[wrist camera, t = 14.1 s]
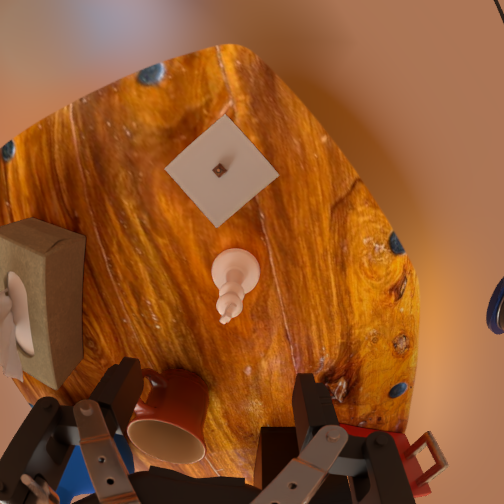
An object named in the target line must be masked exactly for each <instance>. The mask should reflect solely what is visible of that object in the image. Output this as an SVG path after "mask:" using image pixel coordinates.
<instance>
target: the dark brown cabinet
mask: <svg viewBox="0 0 504 504" xmlns="http://www.w3.org/2000/svg"><path fill="white" fill-rule="evenodd" d="M298 456H299V448H298V441H297V434H296V427H261V431H260V437H259V444H258V450H257V457H256V463H255V469H254V486H255V487H257V488H259V489H261V490H264V489H265V488H266V487H267V486H268V485H269V484H270V483H271V482H272V481H273V480H274V479H275V478H276V477H277V475H278V474H279V473H280V472H281V471H282V470H283V469H284V468H285V467H286V466H287V464H288V463H289V462H290V461H291V460H292V459H293V458H297V457H298ZM308 504H353V502H352V496H351V491H350V487H349V483H348V479H347V476H344V475H337V474H330V473H329V475H328V476H327V478H326V479H325V481H324V482H323V483H322V485H321V486H320V488H319V489H318V490H317V492H316V493H315V494H314V496H313V497H312V498H311V500H310V501H309V502H308Z"/></svg>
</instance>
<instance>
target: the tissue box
mask: <svg viewBox="0 0 504 504" xmlns="http://www.w3.org/2000/svg"><path fill="white" fill-rule="evenodd" d="M85 243H86V237H85V236H84V235H81V234H78V233H75V232H72V231H69V230H67V229H64V228H61V227H58V226H55V225H52V224H50V223H47V222H44V221H41V220H39V219H36V218H33V217H31V218H27V219H24V220H20V221H17V222H14V223H10V224H7V225H4V226H1V227H0V366H2V367H3V374H4V375H5V376H7V377H11V378H17V379H19V380H20V381H22V382H23V374H22V370H23V371H25V372H26V373H28V374H30V375H31V376H33V377H34V378H36V379H38V380H39V381H41V382H42V383H44V384H46V385H48V386H49V387H51V388H53V389H55V390H58V389H59V388H60V386H61V385H62V384H63V382H64V381H65V380H66V379H67V377H68V376H69V375H70V374H71V372H72V371H73V370H74V369H75V367H76V366H77V365H78V364H79V362H80V361H81V360H82V359H83V342H82V285H83V267H84V254H85Z"/></svg>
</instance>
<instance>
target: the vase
mask: <svg viewBox="0 0 504 504" xmlns="http://www.w3.org/2000/svg"><path fill="white" fill-rule="evenodd" d="M113 439H114V441H115V444H116V446H117V448H118V451H119V453H120V455H121V458H122V460H123V462H124V464H125V466H126V468H127V470H128V472H129V474H132V473H134V470H135V469H134V462H133V454H132V452H131V450H130V447H129V445H128V443H127V441H126V439H125V437H124V436H123V435H120V434H116V433H115V435H114V437H113ZM56 493H57V494H58V496H59V499H60V504H70V503H71V500H72V498H73V497H74V496H77V495H80V494H89V493H90V494H91V493H95V489H94V487H93V484H92V482H91V479H90V476H89V473H88V470H87V467H86V464H85V461H84V458H83V455H82V452H81V448H80V445H76V446H75V448H74V450H73V452H72V455H71V457H70V459H69V461H68V464H67V466H66V468H65V471H64V473H63V475H62V478H61V480H60V483H59V485H58V488H57V490H56Z"/></svg>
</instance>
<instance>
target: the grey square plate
mask: <svg viewBox="0 0 504 504" xmlns="http://www.w3.org/2000/svg"><path fill="white" fill-rule="evenodd" d="M165 170H166V171H167V172H168V173H169V175H170V176H171V177H172V178H173V179H174V180H175V181H176V183H177V184H178V185H179V186H180V187H181V188H182V189H183V191H184V192H185V193H186V194H187V195H188V196H189V197H190V199H191V200H192V201H193V202H194V203H195V204H196V205H197V206H198V208H199V209H200V210H201V211H202V212H203V213H204V214H205V216H206V217H207V218H208V219H209V220H210V221H211V222H212V223H213V225H214V226H215V227H216V228H218V227H219V226H220V225H221V224H222V223H224V222H225V221H226V220H227V219H228V218H229V217H231V216H232V215H233V214H234V213H235V212H236V211H238V210H239V209H240V208H241V207H242V206H243V205H245V204H246V203H247V202H248V201H249V200H251V199H252V198H253V197H254V196H255V195H256V194H258V193H259V192H260V191H261V190H262V189H264V188H265V187H266V186H267V185H269V184H270V183H271V182H272V181H273V180H275V179H276V178H277V177H278V176H279V174H278V173H277V171H276V170H275V169H274V168H273V167H272V166H271V164H270V163H269V162H268V161H267V160H266V159H265V157H264V156H263V155H262V154H261V153H260V152H259V151H258V149H257V148H256V147H255V146H254V145H253V144H252V143H251V142H250V140H249V139H248V138H247V137H246V136H245V135H244V134H243V133H242V132H241V130H240V129H239V128H238V127H237V126H236V125H235V124H234V123H233V122H232V121H231V120H230V118H229V117H228V116H227V115H226V114H225V115H224V116H223V117H221V118H220V119H219V120H218V121H217V122H215V123H214V124H213V125H212V126H211V127H209V128H208V129H207V130H206V131H205V132H204V133H202V134H201V135H200V136H199V137H198V138H197V139H196V140H195V141H193V142H192V143H191V144H190V145H189V146H188V147H187V148H186V149H185V150H184V151H182V152H181V153H180V154H179V155H178V156H177V157H176V158H175V159H174V160H173V161H172V162H171V163H170V164H169V165H168V166H167V167H166V168H165Z"/></svg>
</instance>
